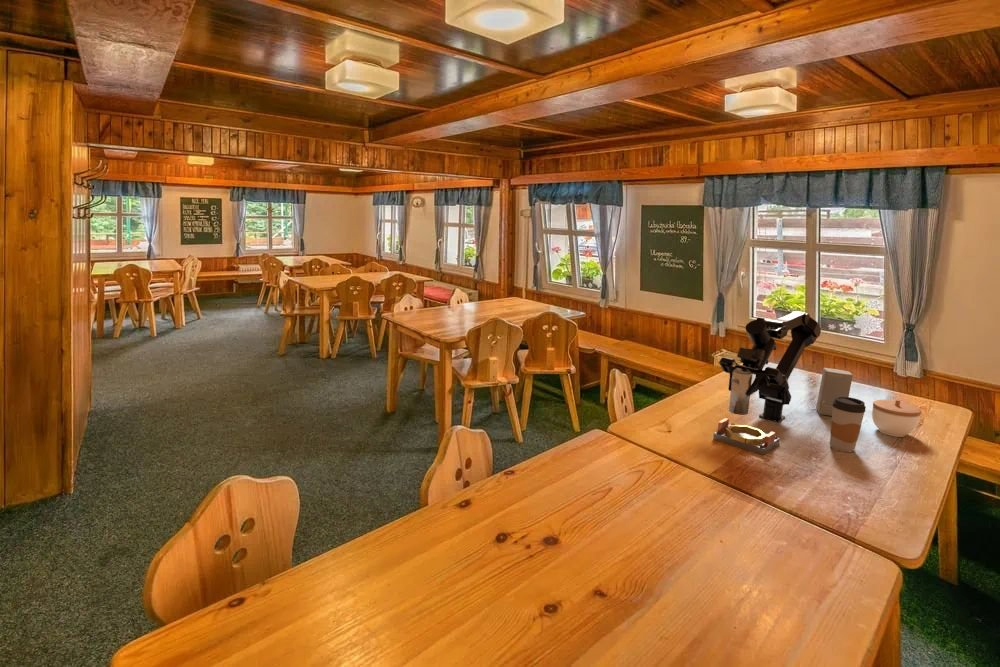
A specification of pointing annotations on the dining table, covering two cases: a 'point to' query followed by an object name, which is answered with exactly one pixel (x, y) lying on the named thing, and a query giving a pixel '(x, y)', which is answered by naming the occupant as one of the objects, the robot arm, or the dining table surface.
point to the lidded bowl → (895, 417)
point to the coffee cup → (846, 423)
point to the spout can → (740, 391)
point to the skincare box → (832, 389)
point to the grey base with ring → (746, 437)
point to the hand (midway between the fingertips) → (738, 392)
